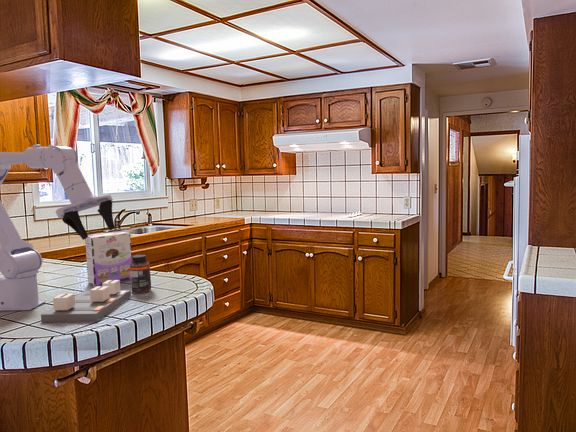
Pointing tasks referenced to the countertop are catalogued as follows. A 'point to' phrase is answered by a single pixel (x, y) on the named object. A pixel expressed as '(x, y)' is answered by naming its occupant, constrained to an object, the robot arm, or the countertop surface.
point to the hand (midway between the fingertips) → (99, 233)
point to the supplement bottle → (140, 274)
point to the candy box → (108, 257)
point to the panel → (86, 308)
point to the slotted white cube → (64, 301)
